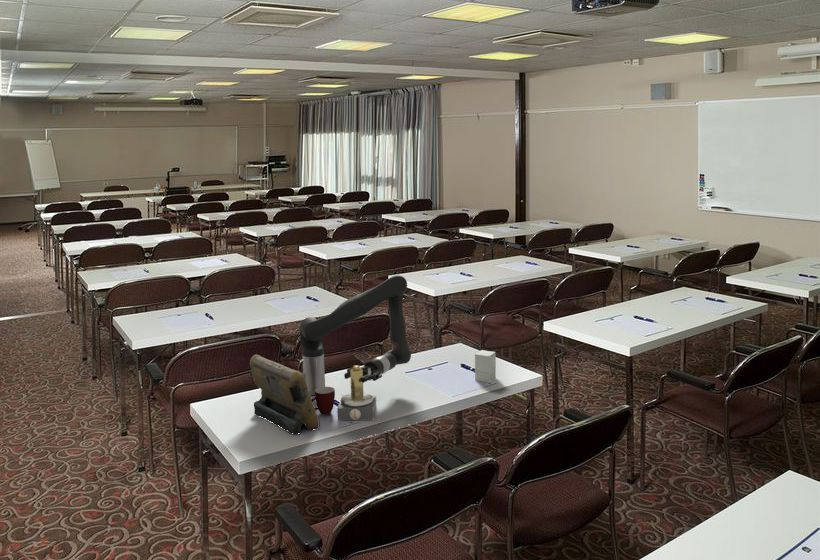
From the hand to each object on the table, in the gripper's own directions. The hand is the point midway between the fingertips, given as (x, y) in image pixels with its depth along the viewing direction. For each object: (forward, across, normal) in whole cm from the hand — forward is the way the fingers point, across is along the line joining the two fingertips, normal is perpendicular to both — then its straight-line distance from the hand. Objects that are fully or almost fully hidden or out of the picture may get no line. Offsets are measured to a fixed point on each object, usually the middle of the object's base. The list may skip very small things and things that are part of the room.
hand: (353, 378), depth 269 cm
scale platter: (-2, 0, +10) cm, 10 cm away
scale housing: (-2, 0, +15) cm, 16 cm away
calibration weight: (-2, 0, +9) cm, 9 cm away
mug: (+6, -12, +16) cm, 20 cm away
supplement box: (-63, +27, +16) cm, 71 cm away
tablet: (+19, -20, +16) cm, 32 cm away
